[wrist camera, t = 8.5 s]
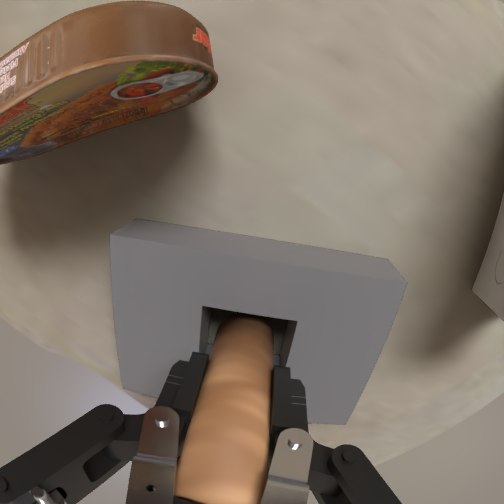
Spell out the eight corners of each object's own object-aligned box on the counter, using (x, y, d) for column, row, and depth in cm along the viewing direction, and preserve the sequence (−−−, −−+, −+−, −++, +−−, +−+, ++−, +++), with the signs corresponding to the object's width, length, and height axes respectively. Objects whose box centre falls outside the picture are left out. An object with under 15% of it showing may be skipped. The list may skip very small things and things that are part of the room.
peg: (278, 317, 16) (273, 501, 6) (268, 362, 17) (256, 530, 7) (220, 308, 16) (164, 483, 7) (215, 353, 17) (170, 515, 8)
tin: (16, 165, 16) (-82, 192, 8) (10, 122, 15) (-87, 133, 7) (233, 99, 14) (185, 55, 6) (224, 43, 13) (174, -39, 5)
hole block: (388, 259, 16) (407, 282, 13) (339, 392, 20) (345, 424, 17) (135, 218, 17) (109, 234, 14) (139, 360, 20) (122, 388, 17)
